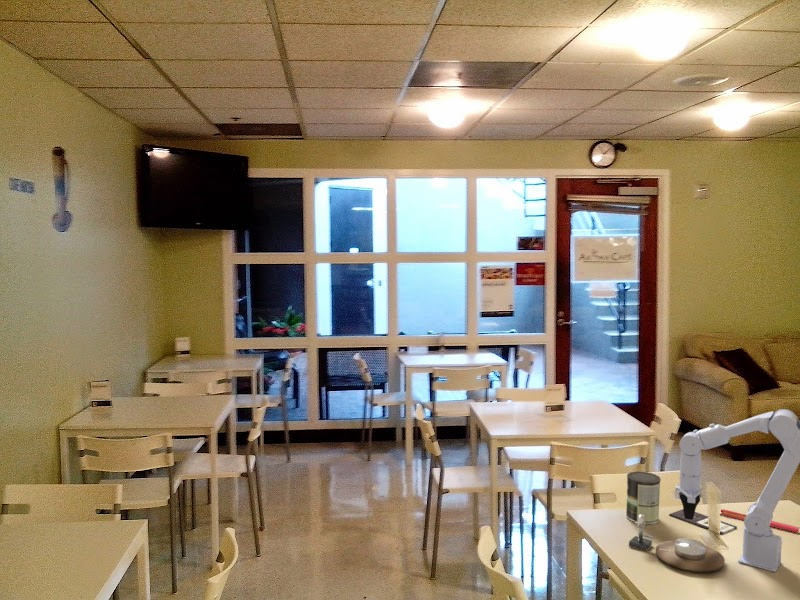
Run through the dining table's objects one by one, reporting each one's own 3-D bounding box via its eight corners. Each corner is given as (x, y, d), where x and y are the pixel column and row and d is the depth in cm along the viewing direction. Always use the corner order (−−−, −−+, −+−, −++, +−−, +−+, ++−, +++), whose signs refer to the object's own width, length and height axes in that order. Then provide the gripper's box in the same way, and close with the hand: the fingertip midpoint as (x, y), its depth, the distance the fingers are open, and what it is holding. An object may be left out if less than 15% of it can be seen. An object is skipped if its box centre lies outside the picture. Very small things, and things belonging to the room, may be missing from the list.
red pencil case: (719, 514, 228) (715, 514, 225) (720, 508, 229) (716, 507, 225) (800, 534, 212) (797, 534, 209) (801, 527, 213) (798, 527, 209)
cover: (708, 553, 192) (709, 543, 192) (700, 563, 186) (700, 553, 186) (679, 545, 198) (680, 535, 197) (670, 555, 191) (670, 544, 191)
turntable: (731, 555, 193) (732, 551, 193) (714, 578, 180) (714, 575, 179) (667, 537, 205) (667, 534, 205) (646, 558, 191) (646, 555, 191)
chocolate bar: (685, 508, 229) (736, 526, 214) (685, 511, 229) (736, 529, 214) (669, 514, 224) (720, 533, 209) (669, 516, 224) (720, 536, 209)
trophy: (656, 546, 201) (657, 515, 200) (650, 552, 197) (652, 520, 196) (635, 540, 205) (636, 510, 204) (628, 546, 201) (629, 515, 200)
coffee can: (621, 519, 221) (622, 477, 220) (632, 510, 229) (633, 469, 228) (652, 527, 214) (654, 484, 213) (663, 517, 222) (665, 475, 221)
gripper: (674, 464, 208) (672, 507, 209) (677, 479, 194) (675, 525, 195) (699, 467, 206) (697, 510, 207) (703, 482, 192) (702, 529, 193)
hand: (688, 518), depth 201 cm, fingers closed
